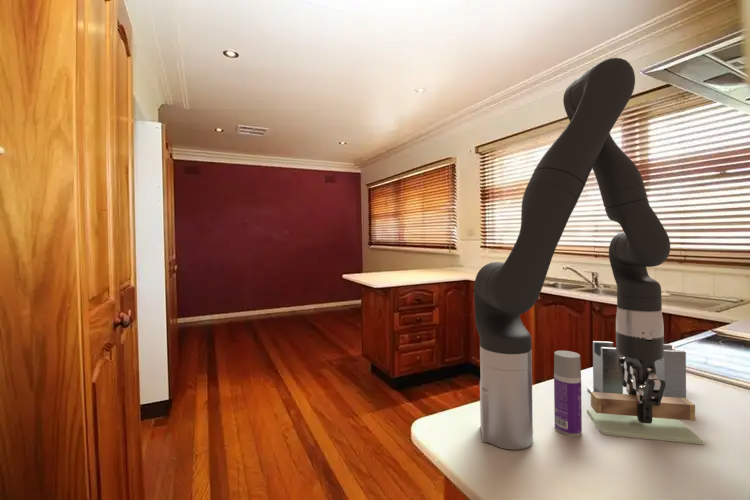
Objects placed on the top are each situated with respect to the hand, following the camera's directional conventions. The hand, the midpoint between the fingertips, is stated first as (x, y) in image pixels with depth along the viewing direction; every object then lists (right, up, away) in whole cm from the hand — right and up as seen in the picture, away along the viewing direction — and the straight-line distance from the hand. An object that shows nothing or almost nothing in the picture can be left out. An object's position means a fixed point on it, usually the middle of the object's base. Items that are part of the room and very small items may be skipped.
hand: (640, 417), depth 69 cm
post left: (+2, -2, +13) cm, 13 cm away
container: (-15, -2, -1) cm, 15 cm away
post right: (+14, -1, +10) cm, 17 cm away
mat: (0, -2, 0) cm, 2 cm away
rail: (0, +1, 0) cm, 1 cm away
